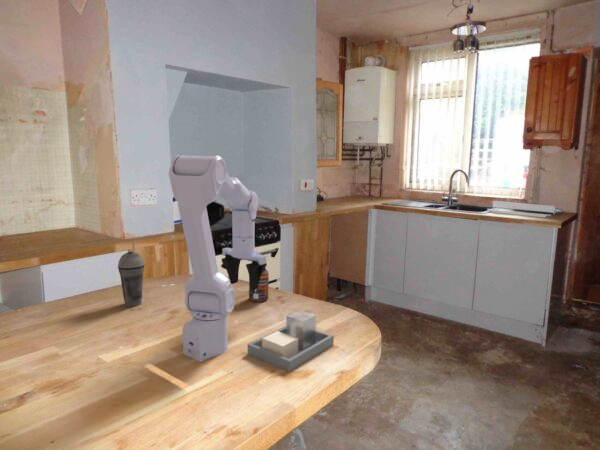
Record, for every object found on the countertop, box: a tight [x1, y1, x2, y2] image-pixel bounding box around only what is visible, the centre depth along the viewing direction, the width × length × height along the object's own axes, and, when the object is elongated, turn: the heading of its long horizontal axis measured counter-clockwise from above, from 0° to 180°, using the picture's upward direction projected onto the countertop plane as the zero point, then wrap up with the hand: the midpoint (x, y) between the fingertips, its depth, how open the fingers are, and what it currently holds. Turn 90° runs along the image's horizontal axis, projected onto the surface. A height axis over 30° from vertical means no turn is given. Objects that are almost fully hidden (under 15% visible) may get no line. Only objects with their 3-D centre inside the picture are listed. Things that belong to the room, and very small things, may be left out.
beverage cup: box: [117, 236, 146, 308], centre depth 123 cm, size 7×7×20 cm
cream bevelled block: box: [261, 330, 298, 359], centre depth 93 cm, size 5×6×4 cm
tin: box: [285, 309, 317, 351], centre depth 98 cm, size 5×5×7 cm
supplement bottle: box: [248, 266, 270, 303], centre depth 129 cm, size 6×6×11 cm
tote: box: [247, 325, 335, 373], centre depth 96 cm, size 16×12×3 cm
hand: (243, 285), depth 113 cm, fingers open, 7 cm apart
